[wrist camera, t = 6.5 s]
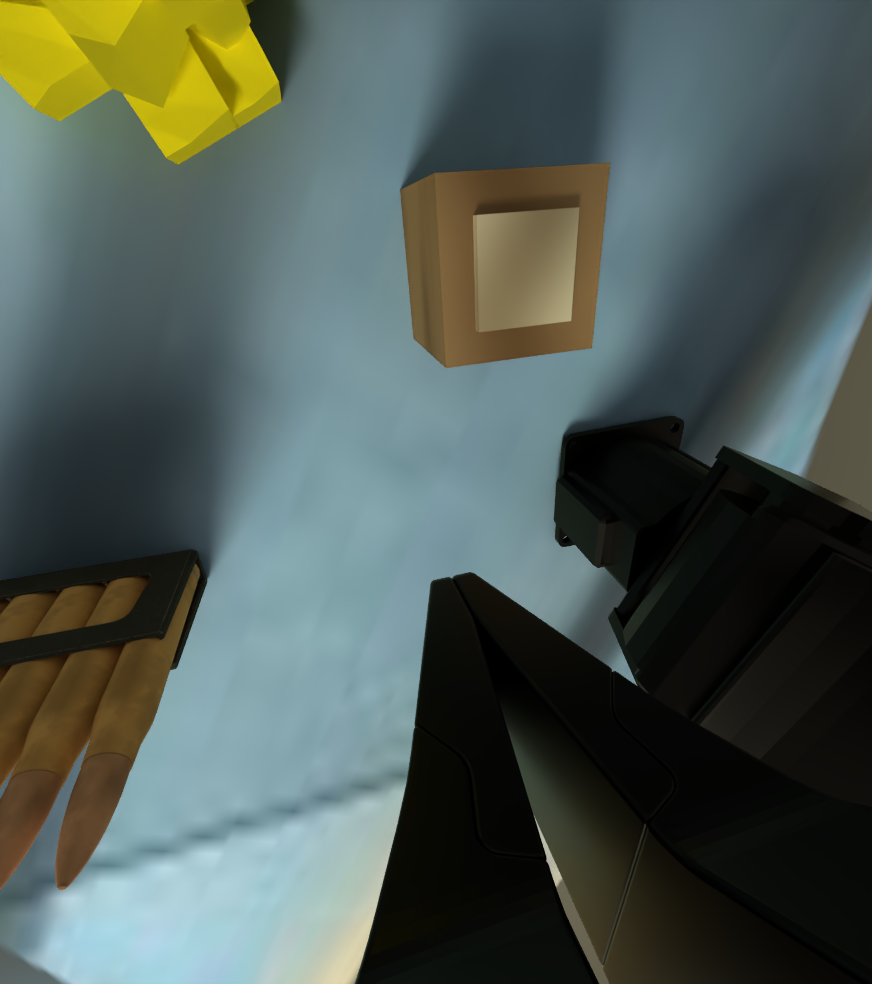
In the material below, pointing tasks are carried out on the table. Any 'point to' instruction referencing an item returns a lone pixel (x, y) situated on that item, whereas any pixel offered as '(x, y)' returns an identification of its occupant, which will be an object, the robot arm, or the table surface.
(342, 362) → the table surface
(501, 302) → the walnut tagged block
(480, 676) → the robot arm
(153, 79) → the crumpled paper
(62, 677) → the ammunition clip
